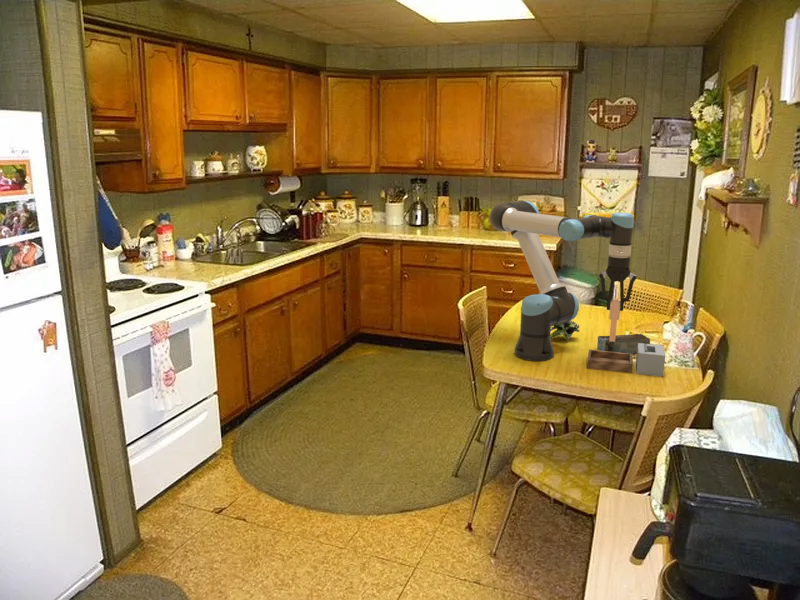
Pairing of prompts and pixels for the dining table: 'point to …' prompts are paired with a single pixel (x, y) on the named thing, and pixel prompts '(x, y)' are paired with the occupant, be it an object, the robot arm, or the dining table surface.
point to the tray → (610, 361)
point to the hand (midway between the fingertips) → (614, 318)
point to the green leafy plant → (564, 330)
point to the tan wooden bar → (614, 319)
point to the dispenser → (650, 359)
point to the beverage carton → (622, 343)
